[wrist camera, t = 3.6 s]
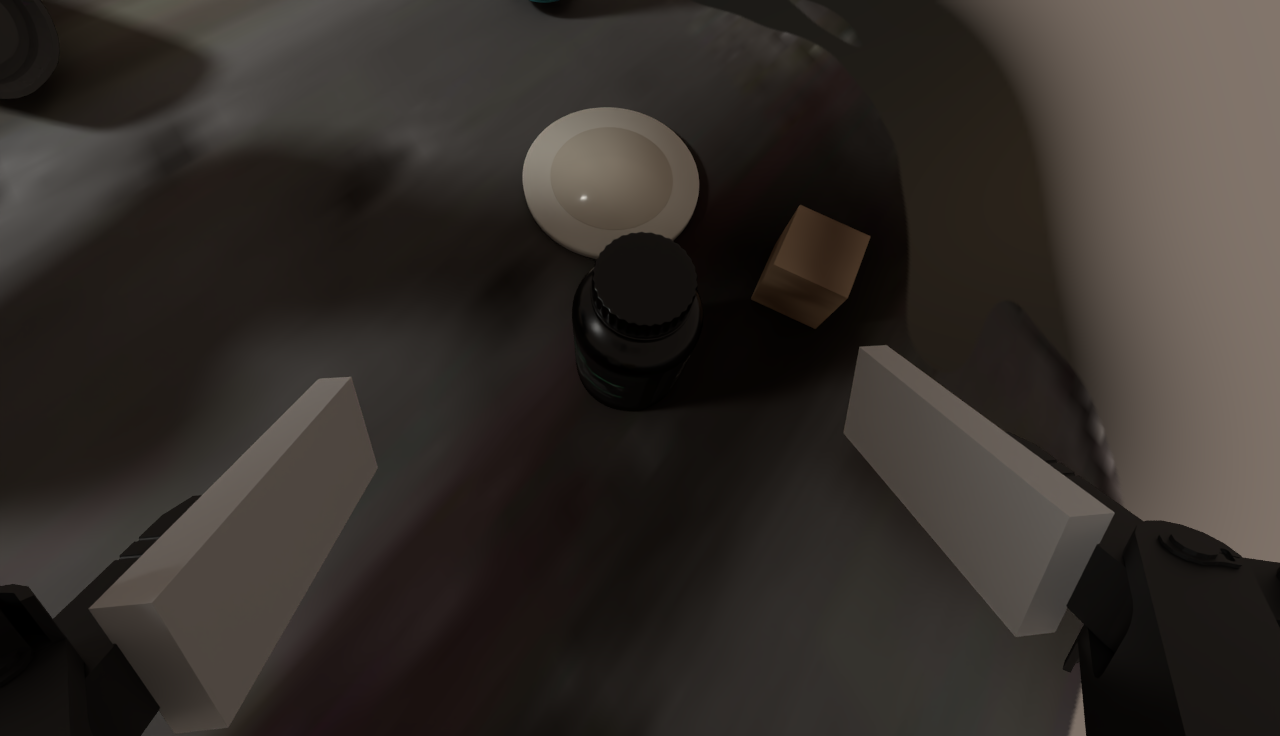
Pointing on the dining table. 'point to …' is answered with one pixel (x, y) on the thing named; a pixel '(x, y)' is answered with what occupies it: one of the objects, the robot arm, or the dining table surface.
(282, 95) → the dining table surface
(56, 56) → the bluetooth speaker
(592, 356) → the supplement bottle
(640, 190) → the plate
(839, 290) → the walnut block
